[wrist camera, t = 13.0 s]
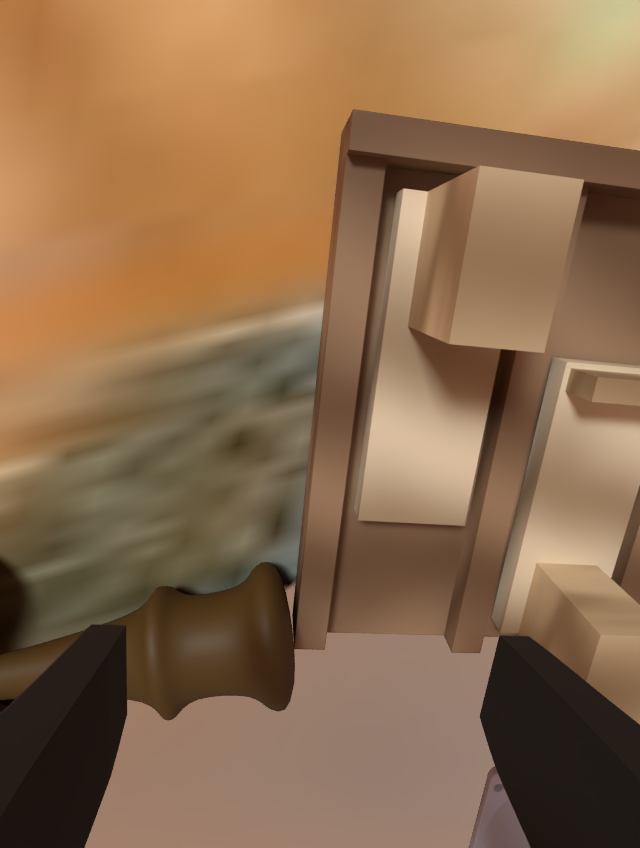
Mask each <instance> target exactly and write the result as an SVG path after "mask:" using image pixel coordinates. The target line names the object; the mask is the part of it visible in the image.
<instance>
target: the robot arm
mask: <svg viewBox="0 0 640 848" xmlns="http://www.w3.org/2000/svg"><path fill="white" fill-rule="evenodd" d="M126 716H127V653H126V625H91V626H89V627H88V628H87V629H86V630H85V631H84V632H83V633H82V634H81V635H80V636H79V637H78V638H77V639H76V640H75V641H74V642H73V643H72V644H71V645H70V646H69V647H68V648H67V649H66V650H65V651H64V652H63V653H62V654H61V655H60V656H59V657H58V658H57V659H56V660H55V661H54V662H53V663H52V664H51V665H50V666H49V667H48V668H47V669H46V670H45V671H44V672H43V673H42V674H41V675H40V676H39V677H38V678H37V679H36V680H35V681H34V682H33V683H32V684H31V685H30V686H29V687H28V688H26V689H25V690H24V691H23V692H22V693H21V694H20V695H19V696H18V697H17V698H16V699H15V700H14V701H13V702H12V703H11V704H10V705H9V706H7V707H6V708H5V709H4V710H3V711H2V712H1V713H0V848H84V847H85V844H86V842H87V839H88V836H89V834H90V831H91V828H92V825H93V823H94V820H95V818H96V815H97V812H98V809H99V807H100V804H101V801H102V798H103V796H104V793H105V790H106V788H107V785H108V782H109V779H110V777H111V773H112V770H113V766H114V762H115V758H116V755H117V751H118V747H119V744H120V740H121V736H122V732H123V728H124V724H125V720H126ZM480 719H481V722H482V726H483V729H484V732H485V736H486V739H487V742H488V745H489V749H490V752H491V755H492V757H493V761H494V763H495V767H493V768H492V769H491V770H490V771H489V773H488V777H487V781H486V784H485V788H484V792H483V795H482V799H481V803H480V807H479V811H478V814H477V818H476V822H475V826H474V830H473V834H472V837H471V842H470V845H469V848H640V724H638V723H637V722H636V721H635V720H633V719H632V718H631V717H630V716H628V715H627V714H626V713H625V712H623V711H622V710H621V709H620V708H618V707H617V706H616V705H615V704H613V703H612V702H611V701H610V700H608V699H607V698H606V697H605V696H603V695H602V694H601V693H600V692H598V691H597V690H596V689H595V688H594V687H592V686H591V685H590V684H589V683H587V682H586V681H585V680H584V679H582V678H581V677H580V676H579V675H578V674H576V673H575V672H574V671H573V670H571V669H570V668H569V667H568V666H567V665H565V664H564V663H563V662H562V661H560V660H559V659H558V658H557V657H555V656H554V655H553V654H552V653H550V652H549V651H548V650H547V649H545V648H544V647H543V646H541V645H540V644H539V643H537V642H536V641H535V640H533V639H532V638H531V637H529V636H507V635H500V636H499V640H498V644H497V648H496V652H495V657H494V660H493V664H492V669H491V672H490V677H489V681H488V685H487V689H486V693H485V697H484V701H483V705H482V709H481V713H480Z"/></svg>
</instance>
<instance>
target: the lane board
mask: <svg viewBox="0 0 640 848" xmlns="http://www.w3.org/2000/svg"><path fill="white" fill-rule="evenodd" d="M478 166H488V167H495V168H502V169H510V170H517V171H524V172H532V173H539V174H546V175H554V176H561V177H568V178H576V179H583V180H584V183H583V187H582V191H581V196H580V200H579V204H578V209H577V213H576V217H575V222H574V226H573V230H572V235H571V239H570V243H569V248H568V252H567V256H566V261H565V265H564V269H563V274H562V278H561V282H560V287H559V291H558V295H557V300H556V304H555V308H554V313H553V317H552V322H551V326H550V330H549V335H548V339H547V343H546V348H545V352H544V353H539V352H528V351H518V350H507V349H501V351H500V356H499V361H498V365H497V370H496V375H495V380H494V385H493V390H492V395H491V399H490V404H489V409H488V414H487V419H486V424H485V429H484V434H483V438H482V443H481V448H480V453H479V458H478V463H477V468H476V472H475V477H474V482H473V487H472V492H471V497H470V502H469V507H468V511H467V516H466V521H465V526H458V525H438V524H419V523H400V522H380V521H361V520H358V519H357V516H356V513H355V510H354V507H355V500H356V492H357V485H358V477H359V470H360V463H361V455H362V448H363V440H364V433H365V425H366V418H367V410H368V403H369V395H370V388H371V381H372V373H373V366H374V358H375V351H376V343H377V336H378V328H379V321H380V313H381V306H382V299H383V291H384V284H385V276H386V269H387V261H388V254H389V246H390V239H391V231H392V224H393V216H394V209H395V202H396V194H397V192H399V191H400V190H402V189H412V190H419V191H427V192H428V191H430V190H432V189H434V188H436V187H438V186H440V185H442V184H444V183H446V182H448V181H450V180H452V179H454V178H456V177H458V176H460V175H462V174H464V173H466V172H468V171H470V170H472V169H474V168H476V167H478ZM553 357H555V358H566V359H577V360H588V361H598V362H609V363H620V364H631V365H640V151H638V150H631V149H624V148H617V147H610V146H603V145H596V144H589V143H583V142H576V141H569V140H562V139H555V138H548V137H541V136H534V135H527V134H520V133H514V132H507V131H500V130H493V129H486V128H479V127H472V126H465V125H458V124H451V123H445V122H438V121H431V120H424V119H417V118H410V117H403V116H396V115H389V114H382V113H376V112H369V111H362V110H355V109H353V111H352V113H351V115H350V117H349V119H348V121H347V123H346V125H345V127H344V129H343V131H342V135H341V145H340V155H339V165H338V174H337V184H336V194H335V204H334V214H333V223H332V233H331V243H330V253H329V263H328V272H327V282H326V292H325V302H324V312H323V321H322V331H321V341H320V351H319V361H318V370H317V380H316V390H315V400H314V409H313V419H312V429H311V439H310V449H309V458H308V468H307V478H306V488H305V498H304V507H303V517H302V527H301V537H300V547H299V556H298V566H297V576H296V586H295V596H294V606H293V615H292V616H293V632H294V633H293V635H294V649H317V650H319V649H321V650H324V649H325V643H326V635H327V632H338V633H375V634H411V635H412V634H413V635H444V637H445V639H446V641H447V643H448V645H449V648H450V650H451V652H453V653H480V651H481V647H482V643H483V638H484V636H488V637H499V636H500V635H507V636H518V633H500V631H499V630H498V628H497V626H496V625H495V623H494V622H493V620H492V618H491V617H492V613H493V609H494V605H495V600H496V596H497V592H498V588H499V583H500V579H501V575H502V571H503V567H504V562H505V558H506V554H507V550H508V545H509V541H510V537H511V533H512V528H513V524H514V520H515V516H516V512H517V507H518V503H519V499H520V495H521V490H522V486H523V482H524V478H525V473H526V469H527V465H528V461H529V456H530V452H531V448H532V444H533V440H534V435H535V431H536V427H537V423H538V418H539V414H540V410H541V406H542V401H543V397H544V393H545V389H546V385H547V380H548V376H549V372H550V368H551V363H552V359H553ZM611 579H612V580H613V581H614V582H615V583H616V584H618V585H619V586H620V587H621V588H622V589H623V590H624V591H625V592H626V593H627V594H628V595H629V596H631V597H632V598H633V599H634V600H635V601H636V602H637V603H638V604H639V605H640V486H639V489H638V492H637V496H636V499H635V502H634V505H633V509H632V512H631V515H630V518H629V521H628V525H627V528H626V531H625V534H624V538H623V541H622V544H621V547H620V551H619V554H618V557H617V560H616V564H615V567H614V570H613V573H612V577H611Z"/></svg>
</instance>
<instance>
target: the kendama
mask: <svg viewBox="0 0 640 848" xmlns="http://www.w3.org/2000/svg"><path fill="white" fill-rule="evenodd" d="M102 625H126V653H127V700H133V701H139V702H142V703H145V704H147V705H149V706H151V707H152V708H154V709H155V710H156V711H157V712H158V713H159V714H160V716H162V718H163V719H165V720H172V719H173V718H175V717H176V716H177V715H178V714H179V712H180V711H181V710H182V709H183V708H184V707H185V706H187V705H188V704H189V703H191V702H193V701H196V700H198V699H203V698H207V697H214V696H225V695H226V696H228V695H229V696H234V695H235V696H246V697H251V698H253V699H256V700H258V701H260V702H261V703H263V704H264V705H265V706H266V707H268V708H270V709H271V710H275V711H281V710H285V708H286V707H287V705H288V704H289V702H290V699H291V695H292V690H293V685H294V671H295V662H294V660H295V659H294V642H293V632H292V624H291V618H290V611H289V606H288V601H287V596H286V592H285V589H284V586H283V583H282V580H281V577H280V575H279V573H278V571H277V569H276V568H275V567H274V566H273V565H272V564H271V563H269V562H264V563H260V564H259V565H257V566H256V567H255V568H254V569H253V571H252V572H251V573H250V575H249V576H248V578H247V579H246V580H245V581H244V582H242V583H241V584H240V585H238V586H236V587H233V588H231V589H227V590H224V591H220V592H215V593H210V594H202V595H188V594H184V593H181V592H179V591H178V590H176V589H174V588H172V587H168V586H162V587H158V588H157V589H155V591H154V592H153V594H152V596H151V597H150V599H149V600H148V601H147V602H146V603H145V604H144V605H143V606H141V607H140V608H139V609H137V610H135V611H134V612H132V613H130V614H128V615H126V616H123V617H121V618H118V619H116V620H113V621H111V622H108V623H105V624H102ZM84 631H85V630H84ZM84 631H81V632H78V633H74V634H71V635H68V636H65V637H61V638H58V639H55V640H51V641H48V642H44V643H41V644H37V645H34V646H30V647H27V648H23V649H19V650H16V651H12V652H8V653H4V654H0V700H8V699H16V698H17V697H18V696H19V695H20V694H21V693H22V692H23V691H24V690H25V689H26V688H28V687H29V686H30V685H31V684H32V683H33V682H34V681H35V680H36V679H37V678H38V677H39V676H40V675H41V674H42V673H43V672H44V671H45V670H46V669H47V668H48V667H49V666H50V665H51V664H52V663H53V662H54V661H55V660H56V659H57V658H58V657H59V656H60V655H61V654H62V653H63V652H64V651H65V650H66V649H67V648H68V647H69V646H70V645H71V644H72V643H73V642H74V641H75V640H76V639H77V638H78V637H79V636H80V635H81V634H82V633H83V632H84ZM6 707H7V706H5V705H3V704H1V703H0V713H1V712H2V711H3V710H4V709H5V708H6Z"/></svg>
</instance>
